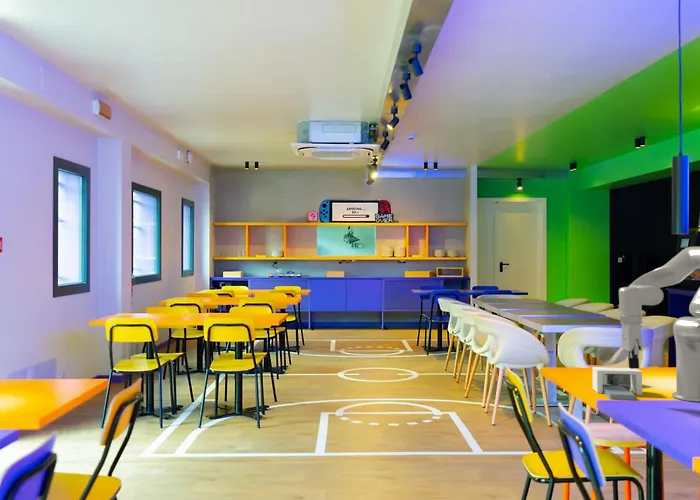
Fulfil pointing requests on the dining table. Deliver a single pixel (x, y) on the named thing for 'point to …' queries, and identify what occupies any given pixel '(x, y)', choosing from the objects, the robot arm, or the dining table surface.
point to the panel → (618, 393)
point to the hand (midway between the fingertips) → (634, 368)
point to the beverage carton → (617, 379)
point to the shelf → (635, 373)
